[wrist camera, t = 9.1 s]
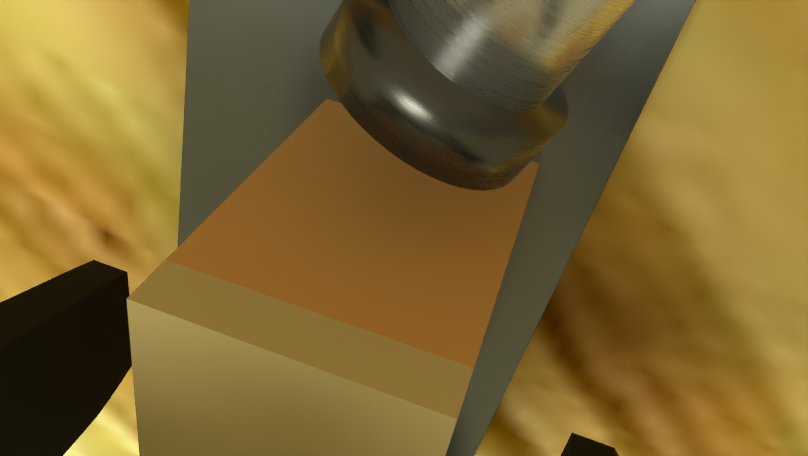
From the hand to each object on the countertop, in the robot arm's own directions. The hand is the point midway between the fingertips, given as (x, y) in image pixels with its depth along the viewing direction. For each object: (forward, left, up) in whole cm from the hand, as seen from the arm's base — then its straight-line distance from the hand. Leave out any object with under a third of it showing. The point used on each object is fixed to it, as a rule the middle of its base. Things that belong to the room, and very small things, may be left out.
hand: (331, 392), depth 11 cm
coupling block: (0, 0, -4) cm, 4 cm away
